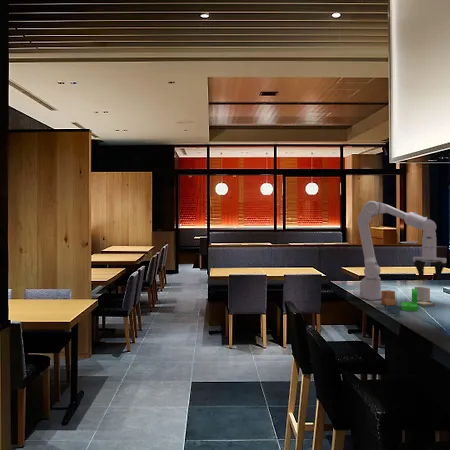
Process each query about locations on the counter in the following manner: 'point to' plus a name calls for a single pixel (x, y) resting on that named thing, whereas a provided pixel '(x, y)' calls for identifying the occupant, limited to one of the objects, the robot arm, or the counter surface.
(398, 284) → the counter surface
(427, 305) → the pad
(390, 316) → the counter surface
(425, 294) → the block
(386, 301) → the terracotta block
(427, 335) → the counter surface
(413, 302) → the mechanical part
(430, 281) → the counter surface
